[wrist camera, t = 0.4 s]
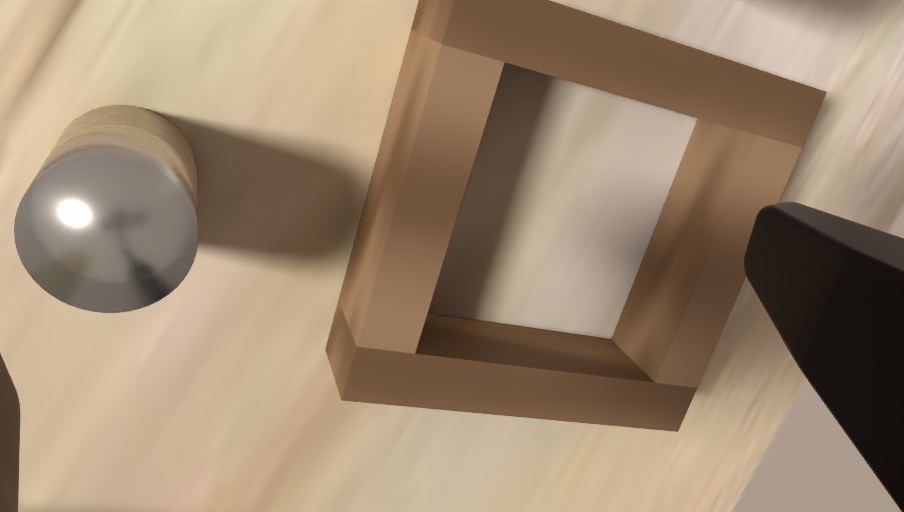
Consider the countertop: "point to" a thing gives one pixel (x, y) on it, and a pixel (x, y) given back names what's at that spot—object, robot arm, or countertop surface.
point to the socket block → (666, 259)
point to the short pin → (112, 212)
